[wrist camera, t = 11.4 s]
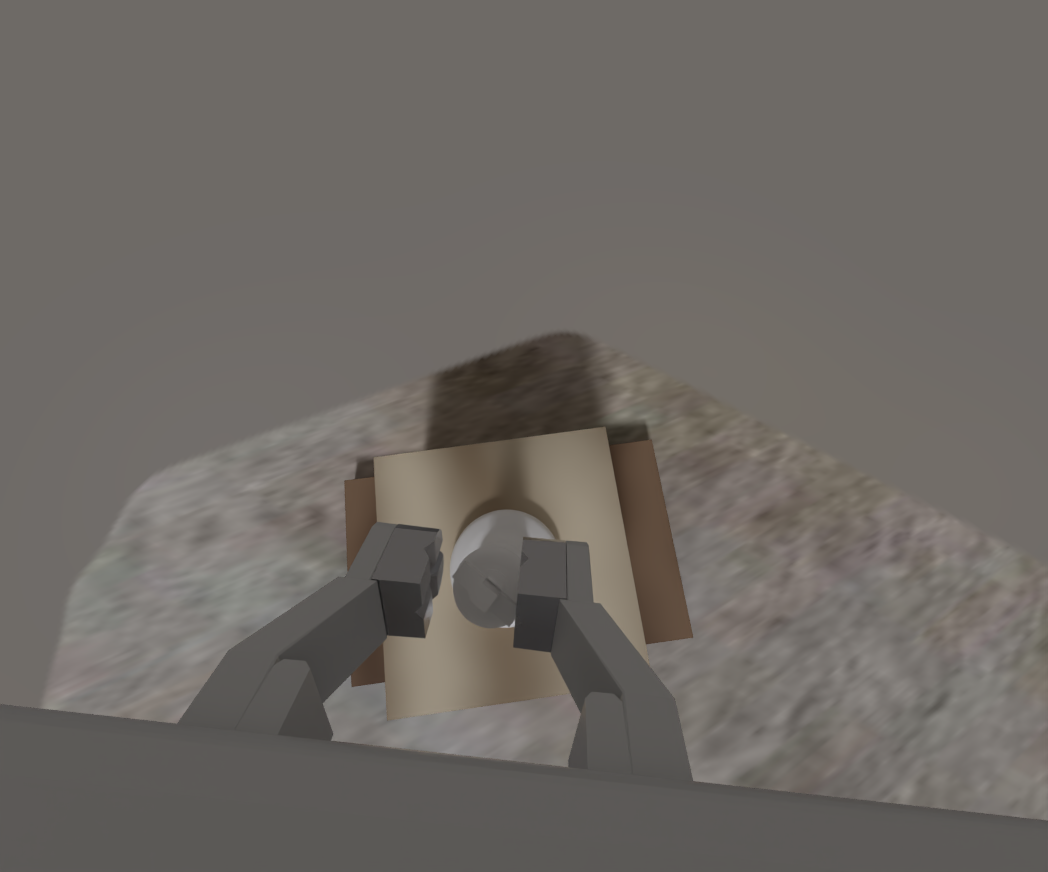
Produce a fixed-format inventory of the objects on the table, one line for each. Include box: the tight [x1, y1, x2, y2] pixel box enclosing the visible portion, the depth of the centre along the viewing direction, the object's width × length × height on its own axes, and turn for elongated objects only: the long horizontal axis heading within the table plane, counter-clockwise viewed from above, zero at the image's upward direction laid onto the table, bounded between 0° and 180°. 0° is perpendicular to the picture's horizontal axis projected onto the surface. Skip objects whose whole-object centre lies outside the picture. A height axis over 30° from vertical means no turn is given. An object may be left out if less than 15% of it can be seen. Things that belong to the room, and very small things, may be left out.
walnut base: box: [344, 427, 693, 720], centre depth 23 cm, size 20×12×9 cm, turn 98°
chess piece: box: [450, 509, 556, 628], centre depth 14 cm, size 5×5×10 cm
